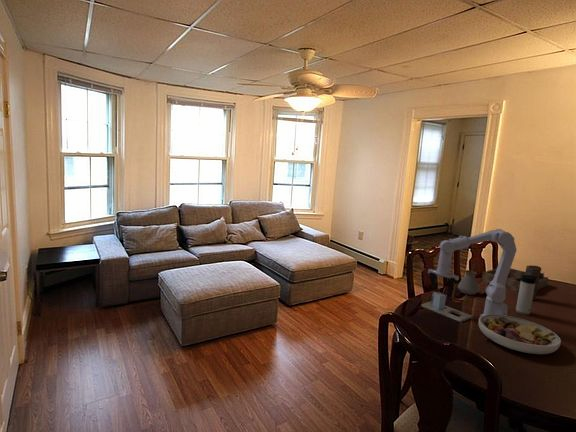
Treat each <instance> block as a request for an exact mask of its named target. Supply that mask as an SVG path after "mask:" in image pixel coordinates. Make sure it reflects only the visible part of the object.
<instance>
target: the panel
mask: <svg viewBox="0 0 576 432" xmlns="http://www.w3.org/2000/svg"><path fill="white" fill-rule="evenodd" d="M432 306H433V301H431V300H430V301H426V302H424V303H421V307H422V308H425V309H427V310H430V311H432V312H434V313H438V314H439V315H442V316H444V317H447V318H450V319H452V320H455V321H457V322H460V323H462V322H464V321H467V320H469V319H472V314H468V313H467V312H463V311H460V310H458V309H455V308H452V307H450V306H447V305H445V308H444V309H443V310H439V309H437V308H434V307H432ZM452 313H453V314H452ZM455 314H456V315H455ZM457 315H459V316H457Z"/></svg>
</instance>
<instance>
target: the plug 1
mask: <svg viewBox="0 0 576 432" xmlns="http://www.w3.org/2000/svg"><path fill="white" fill-rule="evenodd" d="M434 293H439V292H437V291H433V292H432V295H431V299H430V301H433V299H434Z"/></svg>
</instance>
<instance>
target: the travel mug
mask: <svg viewBox="0 0 576 432" xmlns="http://www.w3.org/2000/svg"><path fill="white" fill-rule="evenodd" d="M536 278H537V277H536V276H530V275H523V276H522V278H521V283H520V288H519V292H518V293H517V294H518V295H517V300H516V301H517V302H516V307H515V312H516V313H517V314H520V315H523V316H524V315H525V316H529V315H531V309H532V305H533V304H532V303H533V300H532V299H533V294H534V288H535V282H536Z"/></svg>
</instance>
